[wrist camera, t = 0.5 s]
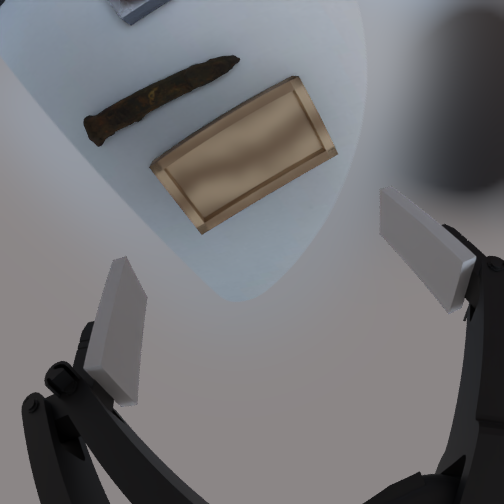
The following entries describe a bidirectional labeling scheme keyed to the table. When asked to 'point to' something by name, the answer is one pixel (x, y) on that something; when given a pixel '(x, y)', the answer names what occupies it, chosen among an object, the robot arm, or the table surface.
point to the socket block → (135, 8)
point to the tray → (245, 154)
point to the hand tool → (154, 97)
